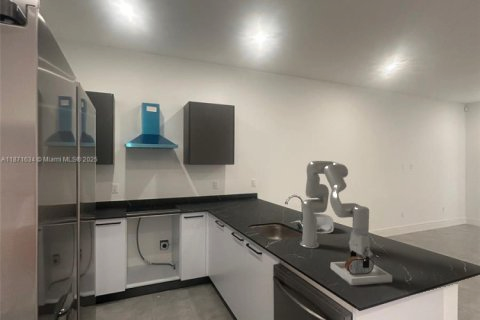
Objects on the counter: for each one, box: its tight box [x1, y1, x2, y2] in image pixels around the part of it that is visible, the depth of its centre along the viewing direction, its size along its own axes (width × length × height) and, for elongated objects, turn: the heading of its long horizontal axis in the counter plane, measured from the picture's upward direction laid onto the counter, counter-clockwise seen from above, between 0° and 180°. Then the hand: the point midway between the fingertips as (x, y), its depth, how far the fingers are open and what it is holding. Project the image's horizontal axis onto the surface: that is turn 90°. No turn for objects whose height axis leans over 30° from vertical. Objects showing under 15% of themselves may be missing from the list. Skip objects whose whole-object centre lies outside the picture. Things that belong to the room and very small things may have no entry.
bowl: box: [314, 213, 334, 234], centre depth 204 cm, size 20×19×12 cm
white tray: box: [330, 261, 393, 286], centre depth 124 cm, size 18×22×3 cm
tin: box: [345, 255, 375, 274], centre depth 124 cm, size 15×3×8 cm, turn 99°
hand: (359, 263), depth 125 cm, fingers open, 9 cm apart
